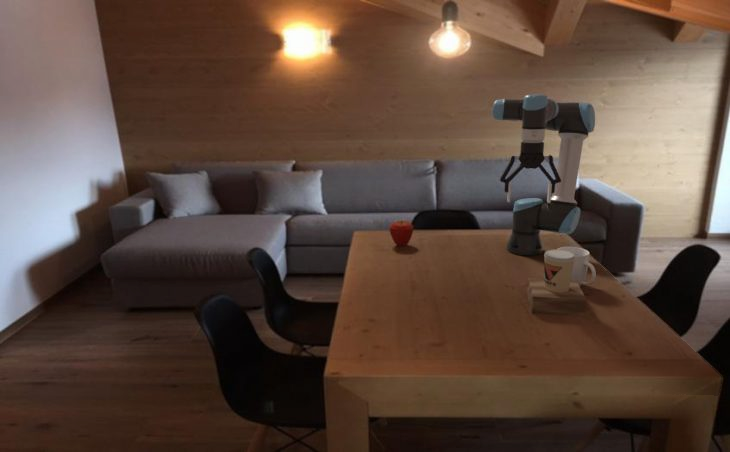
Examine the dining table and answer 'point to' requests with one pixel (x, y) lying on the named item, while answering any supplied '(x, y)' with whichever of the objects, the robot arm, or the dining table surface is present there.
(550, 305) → the riser
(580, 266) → the mug
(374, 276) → the dining table surface
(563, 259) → the coffee cup
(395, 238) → the apple
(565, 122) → the robot arm
